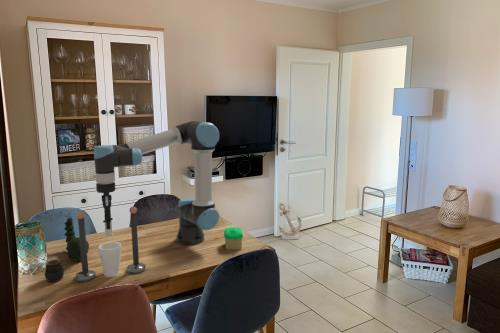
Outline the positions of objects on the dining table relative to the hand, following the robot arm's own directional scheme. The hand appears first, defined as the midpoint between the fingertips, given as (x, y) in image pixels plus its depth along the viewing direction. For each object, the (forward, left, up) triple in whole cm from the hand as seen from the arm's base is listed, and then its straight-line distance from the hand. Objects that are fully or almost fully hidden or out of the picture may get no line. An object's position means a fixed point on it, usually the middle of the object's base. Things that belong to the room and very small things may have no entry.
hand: (108, 235), depth 164 cm
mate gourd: (+22, +6, -18) cm, 29 cm away
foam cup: (0, 0, -18) cm, 18 cm away
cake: (-52, -32, -18) cm, 64 cm away
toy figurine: (+24, -18, -18) cm, 35 cm away
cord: (-10, -4, -16) cm, 19 cm away
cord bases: (0, 0, -18) cm, 18 cm away
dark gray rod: (+10, +4, -16) cm, 19 cm away
